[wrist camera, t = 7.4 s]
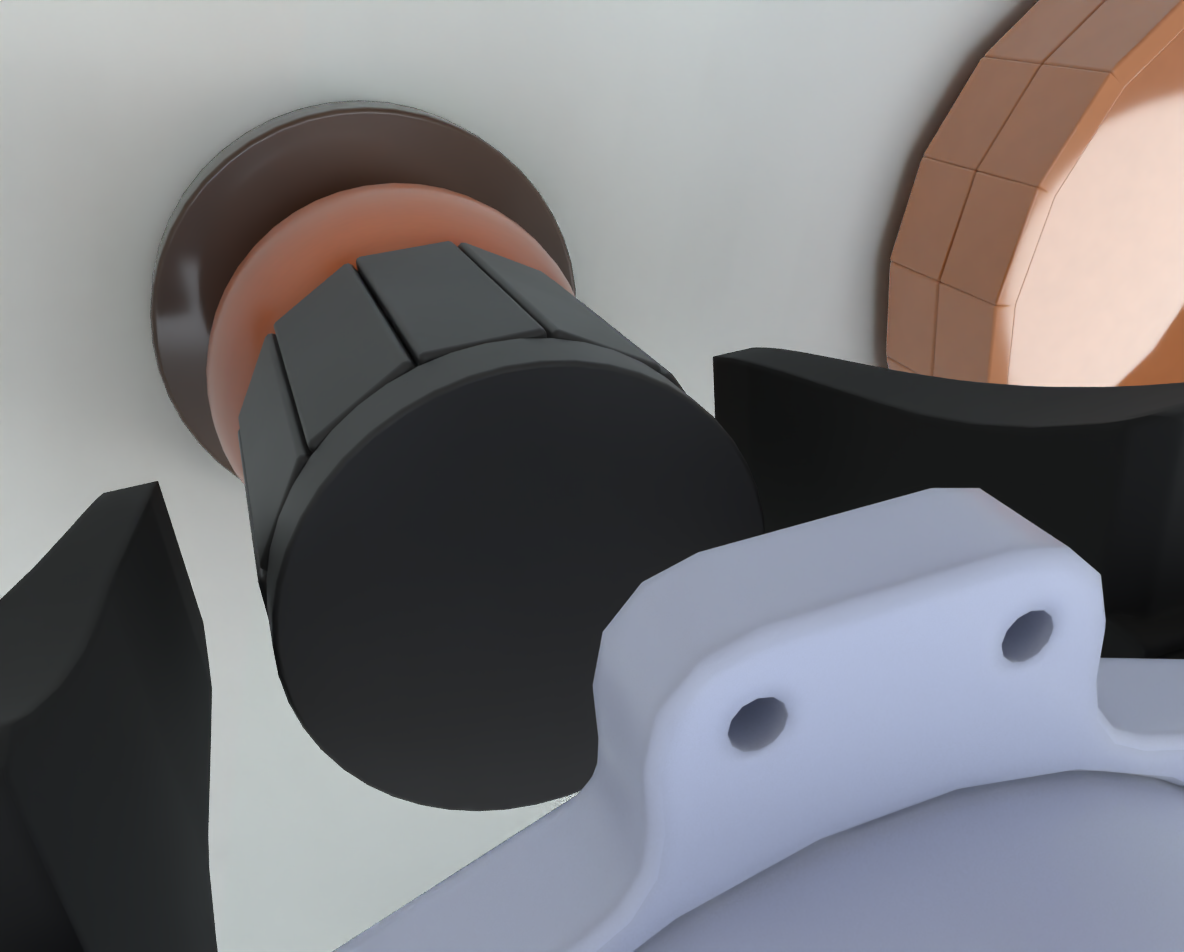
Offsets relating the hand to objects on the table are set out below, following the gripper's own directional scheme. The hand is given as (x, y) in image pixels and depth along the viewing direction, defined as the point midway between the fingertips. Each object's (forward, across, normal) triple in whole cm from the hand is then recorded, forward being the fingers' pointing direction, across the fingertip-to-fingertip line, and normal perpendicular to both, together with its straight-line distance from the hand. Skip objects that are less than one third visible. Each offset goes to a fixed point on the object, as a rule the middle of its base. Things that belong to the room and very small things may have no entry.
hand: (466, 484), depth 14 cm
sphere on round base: (+8, 0, 0) cm, 8 cm away
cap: (+2, 0, 0) cm, 2 cm away
